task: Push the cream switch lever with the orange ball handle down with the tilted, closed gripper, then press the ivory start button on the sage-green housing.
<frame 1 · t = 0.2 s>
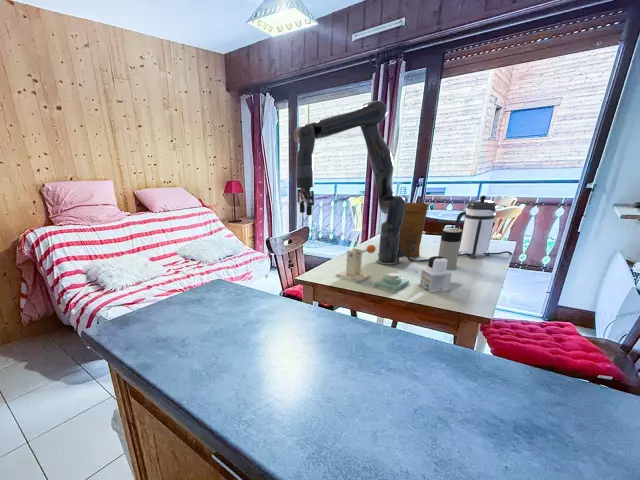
hand: (305, 213, 147), 29 cm above the table, tool pointing down, fingers open, 8 cm apart
travel mug: (446, 267, 155), on the table
start button: (392, 276, 136), point 4 cm above the table, slide at 0.1 cm
switch lever: (362, 251, 142), point 13 cm above the table, hinge at 25.0°
button box: (391, 286, 138), on the table
container: (433, 288, 133), on the table
coffee press: (469, 254, 171), on the table
pancake mix bag: (403, 255, 177), on the table
switch bracket: (353, 276, 150), on the table
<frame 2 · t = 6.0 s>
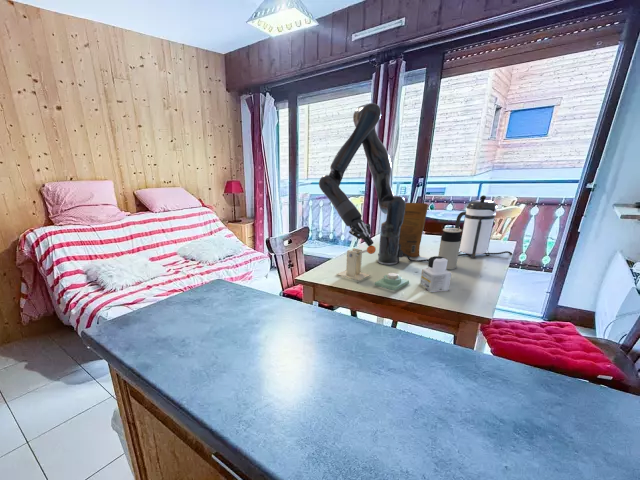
hand: (371, 244, 138), 17 cm above the table, tool tilted 45°, fingers closed
switch lever: (362, 251, 142), point 13 cm above the table, hinge at 23.1°, touching gripper
everything else where it was.
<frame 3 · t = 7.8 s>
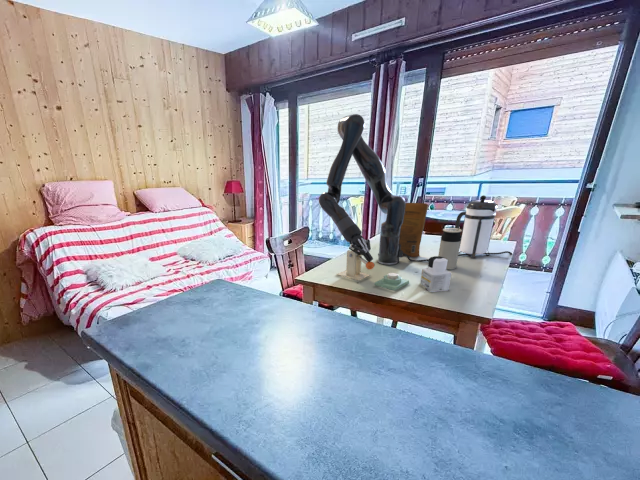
hand: (370, 260, 140), 10 cm above the table, tool tilted 45°, fingers closed
switch lever: (362, 259, 144), point 9 cm above the table, hinge at -23.7°, touching gripper
everything else where it was.
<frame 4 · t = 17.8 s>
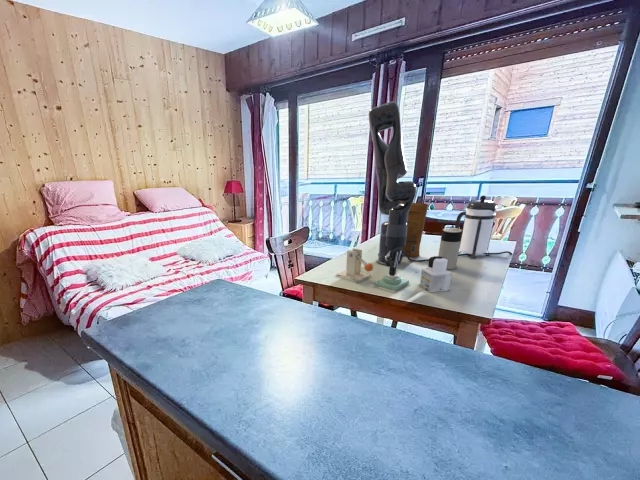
hand: (392, 274, 136), 5 cm above the table, tool pointing down, fingers closed
start button: (392, 276, 136), point 4 cm above the table, slide at -0.2 cm, touching gripper
switch lever: (361, 260, 144), point 9 cm above the table, hinge at -30.5°
everything else where it was.
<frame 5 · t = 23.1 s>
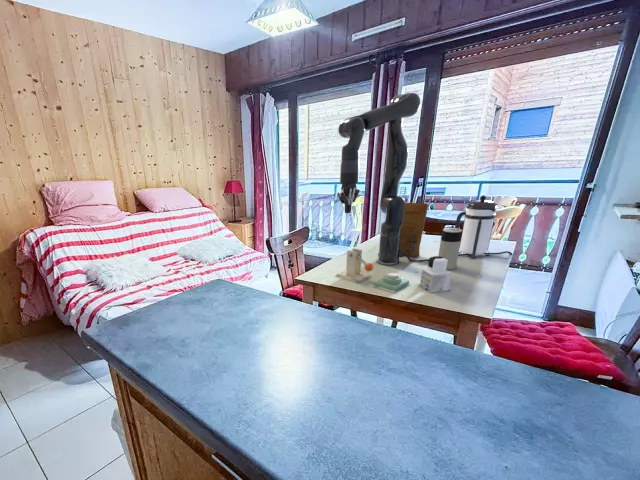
hand: (347, 212, 143), 29 cm above the table, tool pointing down, fingers closed
start button: (392, 276, 136), point 4 cm above the table, slide at 0.1 cm
everything else where it was.
at the end: switch lever at -30° (first picture: +25°); start button pushed in 1.1 cm at the most during the clip, back to where it started at the end; start button slide at 0.1 cm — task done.
